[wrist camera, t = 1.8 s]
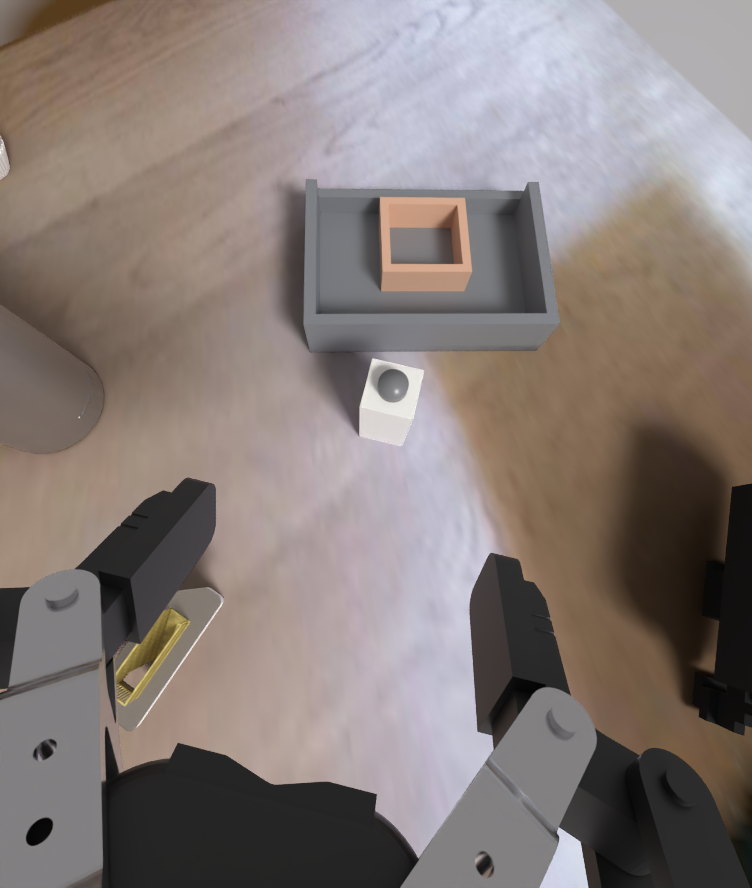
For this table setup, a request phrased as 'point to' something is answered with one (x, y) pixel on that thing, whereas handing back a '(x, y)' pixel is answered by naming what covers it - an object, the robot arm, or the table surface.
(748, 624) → the security camera
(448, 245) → the walled box
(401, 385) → the plug
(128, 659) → the platform
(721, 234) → the table surface
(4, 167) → the white lidded jar
